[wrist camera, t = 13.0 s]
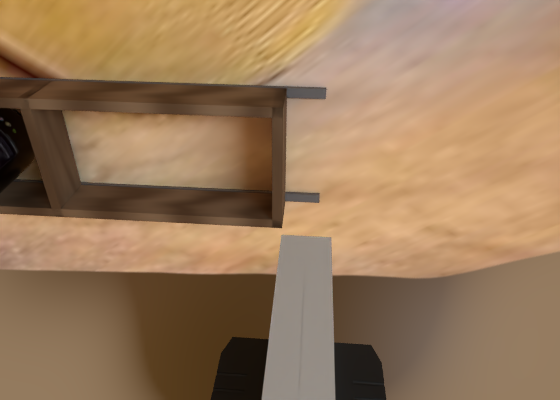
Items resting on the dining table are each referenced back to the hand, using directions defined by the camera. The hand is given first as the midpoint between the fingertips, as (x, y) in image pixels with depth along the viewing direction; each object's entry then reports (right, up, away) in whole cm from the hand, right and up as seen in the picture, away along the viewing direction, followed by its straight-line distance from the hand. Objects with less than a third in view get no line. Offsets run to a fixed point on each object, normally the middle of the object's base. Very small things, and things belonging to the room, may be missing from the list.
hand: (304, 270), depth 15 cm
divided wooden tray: (-15, +7, +25) cm, 30 cm away
